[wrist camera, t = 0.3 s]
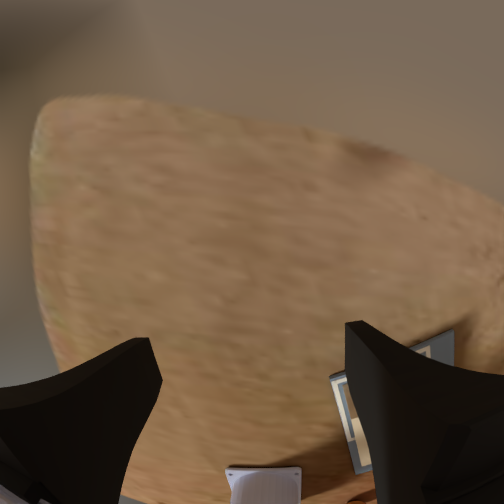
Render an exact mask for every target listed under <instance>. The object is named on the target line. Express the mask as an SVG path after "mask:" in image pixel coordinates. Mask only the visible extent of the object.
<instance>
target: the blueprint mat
mask: <svg viewBox="0 0 504 504" xmlns="http://www.w3.org/2000/svg"><path fill="white" fill-rule="evenodd" d="M409 349H411V350H413V351H415V352H417V353H419V354H421V355H424V356H426V357H428V358H431V359H434V360H436V361H439V362H442V363H445V364H448V365H451V366H454V330H453V329H451V330H448V331H446V332H444V333H442V334H440V335H438V336H436V337H433V338H431V339H429V340H427V341H424V342H422V343H420V344H417V345H415V346H413V347H410V348H409ZM329 378H330V381H331V385H332V388H333V392H334V395H335V399H336V402H337V406H338V410H339V413H340V417H341V420H342V424H343V428H344V431H345V435H346V439H347V443H348V446H349V450H350V454H351V458H352V462H353V466H354V470H355V473H356V475H357V474H361V473H364V472H367V471H371V470H373V469H372V464H369V465H366V466H362V465H361V461H360V456H359V452H358V448H357V443H356V439H355V435H354V431H353V426H352V422H351V418H350V414H349V410H348V406H347V402H346V398H345V394H344V390H343V386H342V385H345V384H348V383H347V378H346V374H345V372H342V373H338V374H335V375H332V376H329Z"/></svg>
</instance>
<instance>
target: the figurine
mask: <svg viewBox="0 0 504 504" xmlns="http://www.w3.org/2000/svg"><path fill="white" fill-rule="evenodd" d="M347 504H365V503H364V502H362V501H351V502H349V503H347Z"/></svg>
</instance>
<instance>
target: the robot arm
mask: <svg viewBox="0 0 504 504" xmlns="http://www.w3.org/2000/svg"><path fill="white" fill-rule="evenodd" d="M345 374H346V378H347V383H348V388H349V392H350V395H351V398H352V401H353V404H354V407H355V409H356V412H357V415H358V418H359V421H360V423H361V426H362V429H363V432H364V435H365V438H366V441H367V445H368V448H369V453H370V459H371V464H372V469H373V475H374V482H375V488H376V496H377V504H504V375H497V374H489V373H482V372H476V371H471V370H466V369H462V368H458V367H455V366H451V365H448V364H445V363H442V362H439V361H436V360H434V359H431V358H428V357H426V356H424V355H421V354H419V353H417V352H415V351H413V350H411V349H409V348H407V347H405V346H403V345H402V344H400V343H398V342H396V341H395V340H393V339H391V338H390V337H388V336H386V335H385V334H383V333H382V332H380V331H379V330H377V329H375V328H374V327H372V326H371V325H369V324H368V323H366V322H364V321H362V320H360V321H354V322H347V323H345ZM162 381H163V379H162V376H161V374H160V371H159V368H158V365H157V362H156V359H155V356H154V353H153V350H152V346H151V343H150V340H149V338H133V339H130V340H128V341H125V342H123V343H121V344H119V345H117V346H115V347H114V348H112V349H110V350H108V351H106V352H104V353H102V354H100V355H99V356H97V357H95V358H93V359H91V360H89V361H87V362H85V363H83V364H81V365H79V366H76V367H74V368H72V369H70V370H68V371H65V372H63V373H60V374H57V375H55V376H52V377H49V378H46V379H42V380H39V381H35V382H31V383H27V384H23V385H18V386H11V387H4V388H0V504H118V502H119V497H120V492H121V488H122V484H123V480H124V476H125V472H126V469H127V466H128V463H129V460H130V457H131V454H132V451H133V448H134V446H135V444H136V441H137V439H138V437H139V435H140V433H141V431H142V429H143V427H144V425H145V423H146V421H147V419H148V417H149V415H150V413H151V411H152V409H153V407H154V405H155V403H156V401H157V398H158V395H159V392H160V388H161V385H162ZM225 473H226V476H227V479H228V482H229V485H230V487H231V490H232V495H231V501H230V504H300V503H301V476H302V469H301V468H300V467H287V468H226V469H225Z"/></svg>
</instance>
